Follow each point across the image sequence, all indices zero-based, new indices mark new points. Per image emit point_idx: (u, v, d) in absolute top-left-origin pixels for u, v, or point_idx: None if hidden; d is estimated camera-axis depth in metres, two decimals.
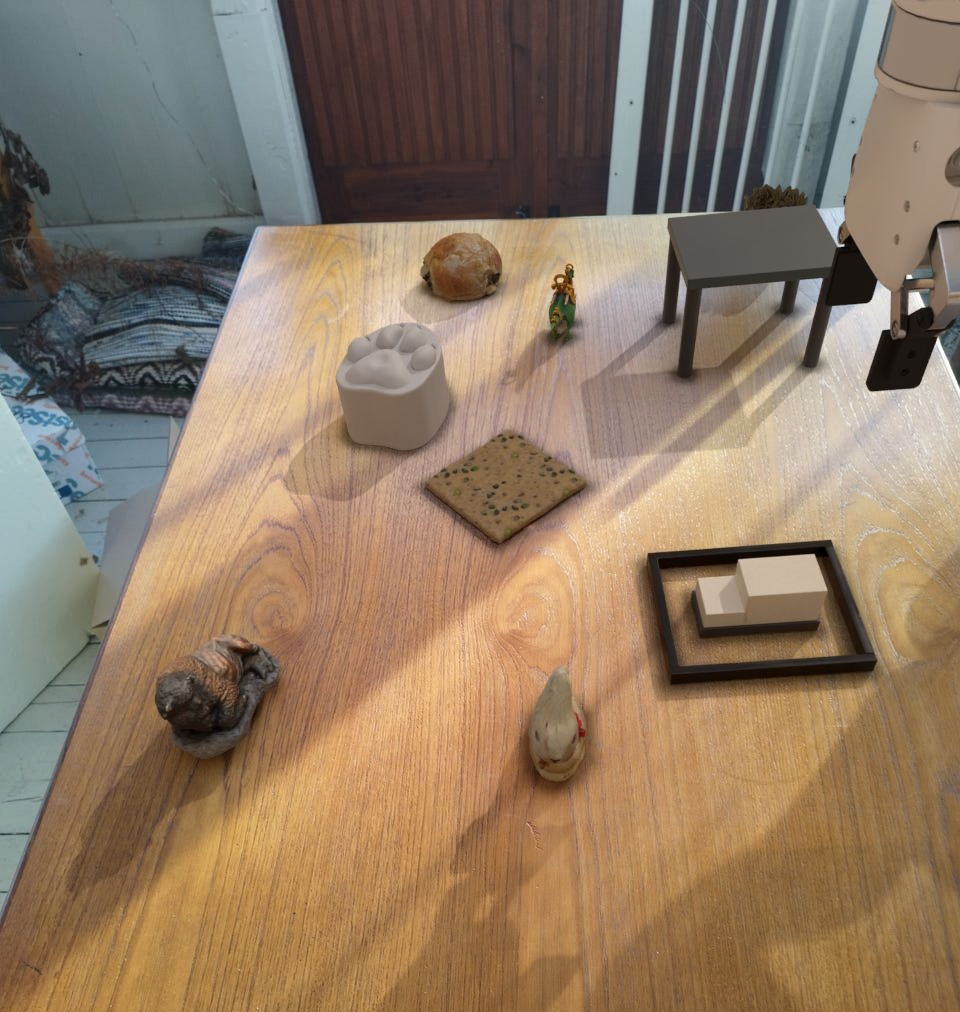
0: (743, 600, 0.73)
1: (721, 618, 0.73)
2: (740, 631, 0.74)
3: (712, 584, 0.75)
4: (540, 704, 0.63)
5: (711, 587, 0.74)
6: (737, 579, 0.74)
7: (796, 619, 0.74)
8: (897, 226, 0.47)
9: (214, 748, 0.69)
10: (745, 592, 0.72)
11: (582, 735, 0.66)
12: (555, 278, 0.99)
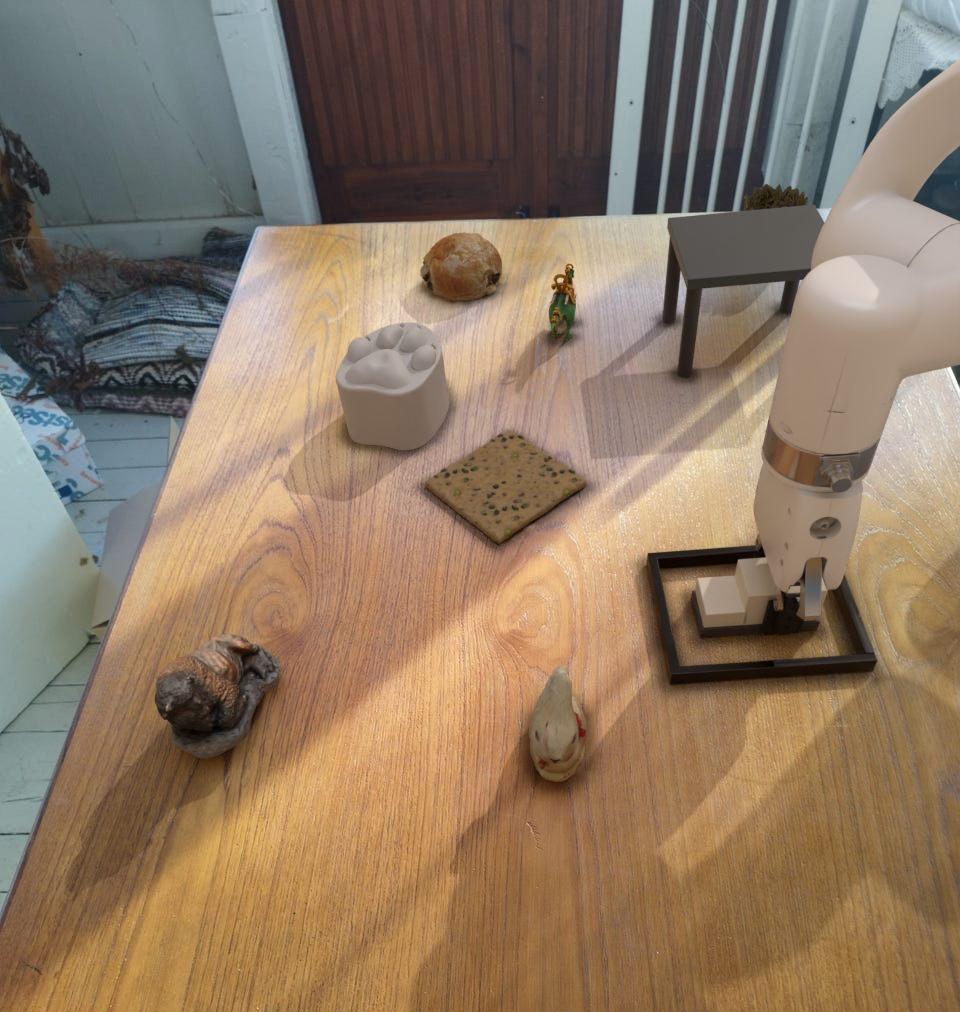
0: (743, 600, 0.73)
1: (721, 619, 0.73)
2: (740, 631, 0.74)
3: (712, 585, 0.75)
4: (540, 704, 0.63)
5: (711, 587, 0.74)
6: (737, 579, 0.74)
7: None
8: (781, 554, 0.65)
9: (214, 748, 0.69)
10: (745, 592, 0.72)
11: (582, 735, 0.66)
12: (555, 278, 0.99)
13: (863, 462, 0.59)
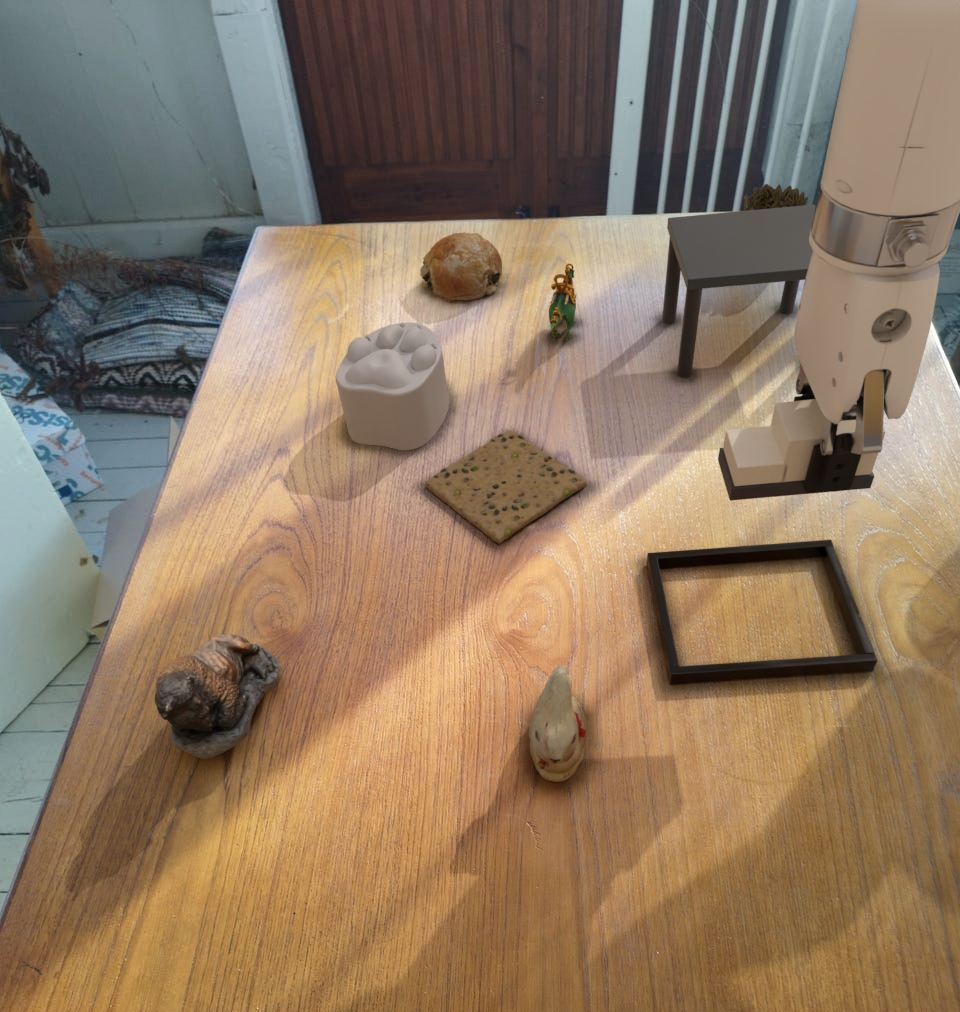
0: (782, 450, 0.61)
1: (755, 473, 0.61)
2: (778, 490, 0.62)
3: (744, 436, 0.63)
4: (540, 704, 0.63)
5: (742, 438, 0.62)
6: (774, 428, 0.62)
7: None
8: (834, 371, 0.53)
9: (214, 748, 0.69)
10: (785, 438, 0.60)
11: (582, 735, 0.66)
12: (555, 278, 0.99)
13: (942, 231, 0.47)
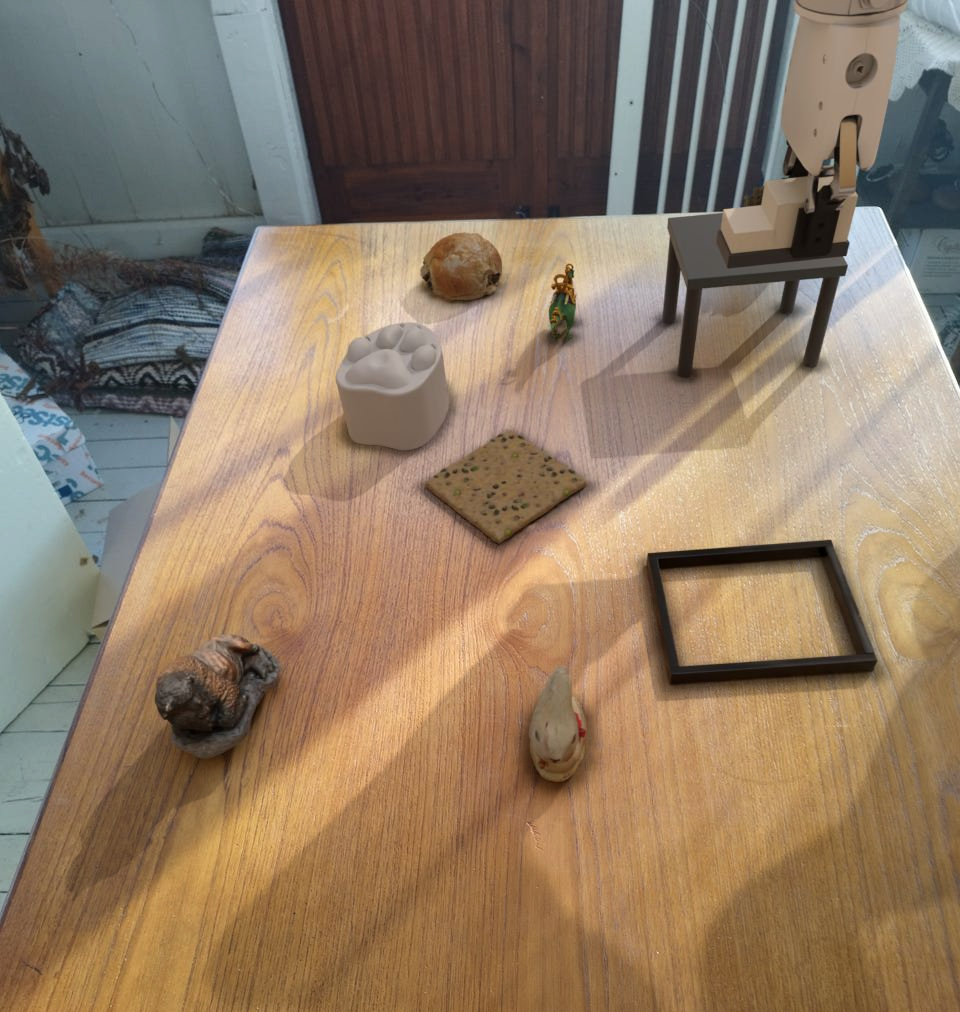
0: (771, 217, 0.71)
1: (749, 239, 0.72)
2: (768, 258, 0.73)
3: (738, 212, 0.73)
4: (540, 704, 0.63)
5: (737, 214, 0.73)
6: (764, 204, 0.73)
7: None
8: (815, 122, 0.63)
9: (214, 748, 0.69)
10: (774, 205, 0.71)
11: (582, 735, 0.66)
12: (555, 278, 0.99)
13: None
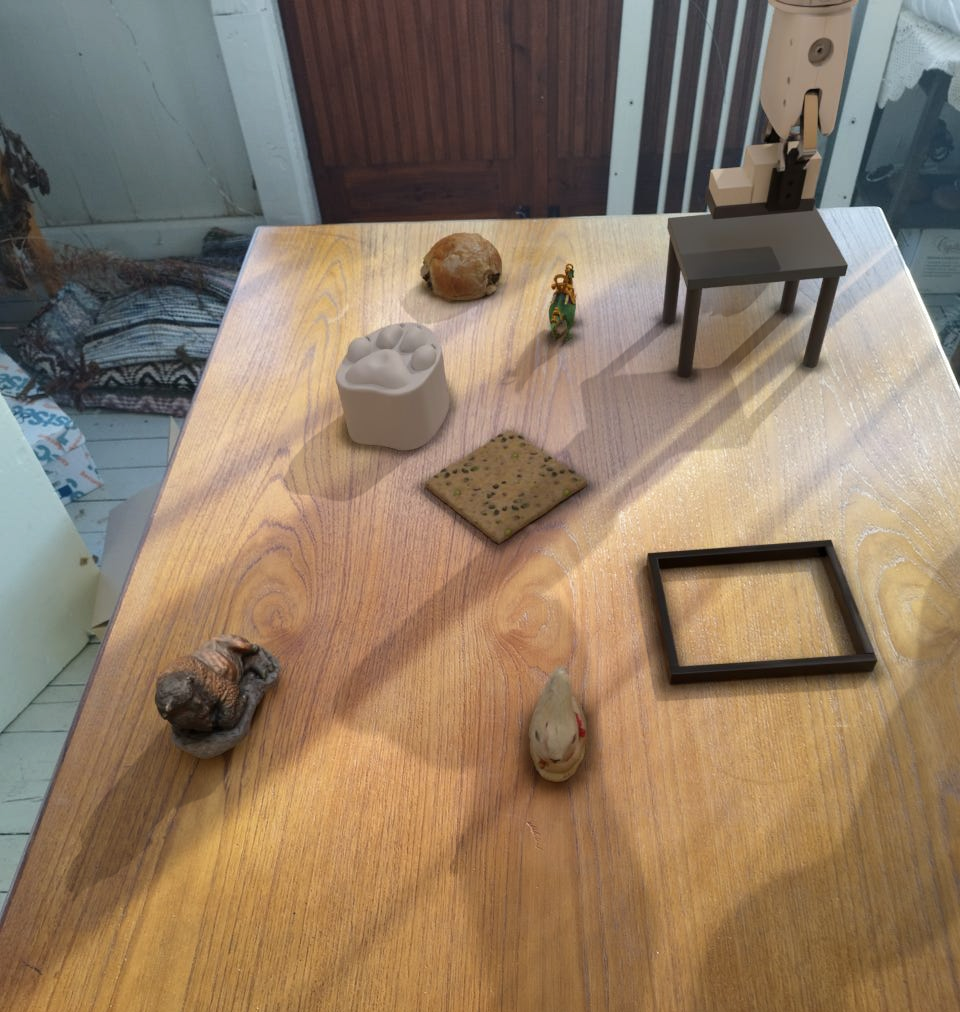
0: (750, 176, 0.85)
1: (731, 194, 0.86)
2: (747, 210, 0.87)
3: (723, 172, 0.87)
4: (540, 704, 0.63)
5: (722, 173, 0.87)
6: (745, 165, 0.87)
7: None
8: (784, 94, 0.77)
9: (214, 748, 0.69)
10: (752, 165, 0.85)
11: (582, 735, 0.66)
12: (555, 278, 0.99)
13: None
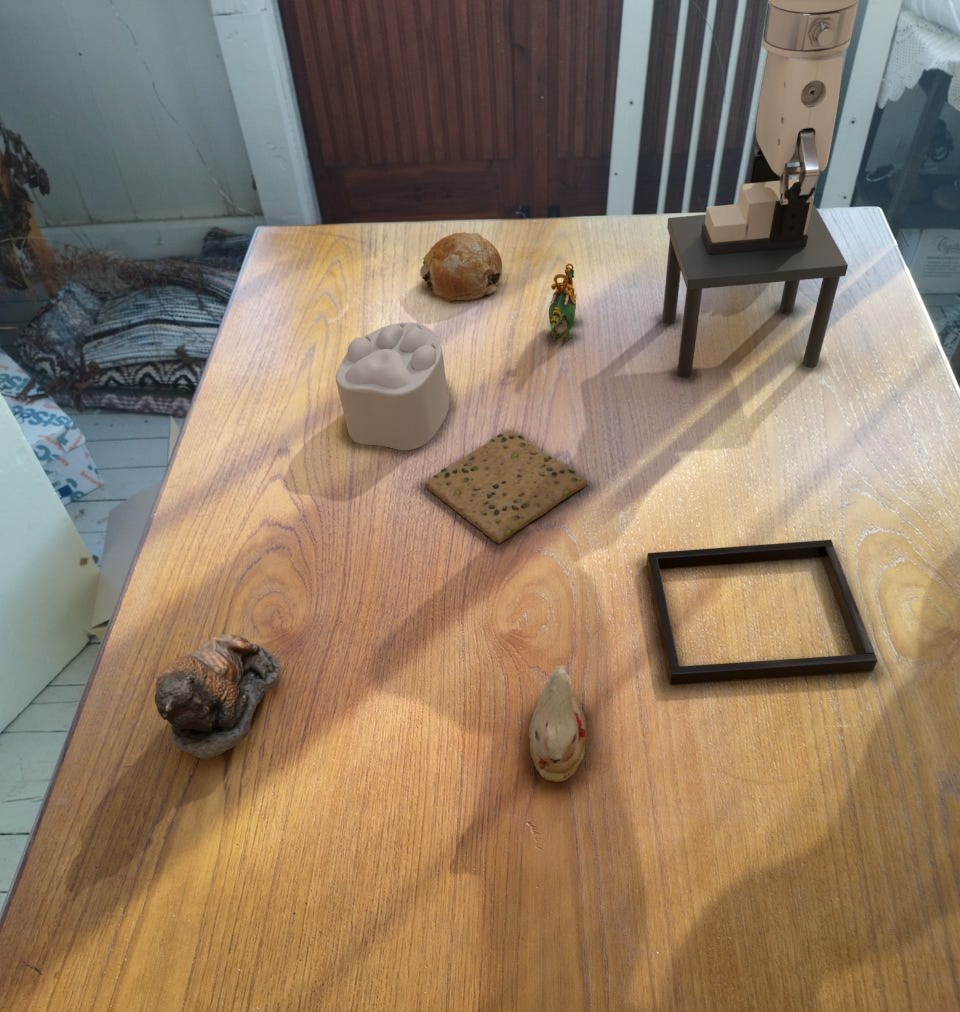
0: (745, 214, 0.88)
1: (726, 231, 0.89)
2: (742, 246, 0.90)
3: (719, 209, 0.90)
4: (540, 704, 0.63)
5: (718, 211, 0.90)
6: (740, 203, 0.90)
7: None
8: (778, 133, 0.80)
9: (214, 748, 0.69)
10: (746, 204, 0.88)
11: (582, 735, 0.66)
12: (555, 278, 0.99)
13: (843, 26, 0.74)
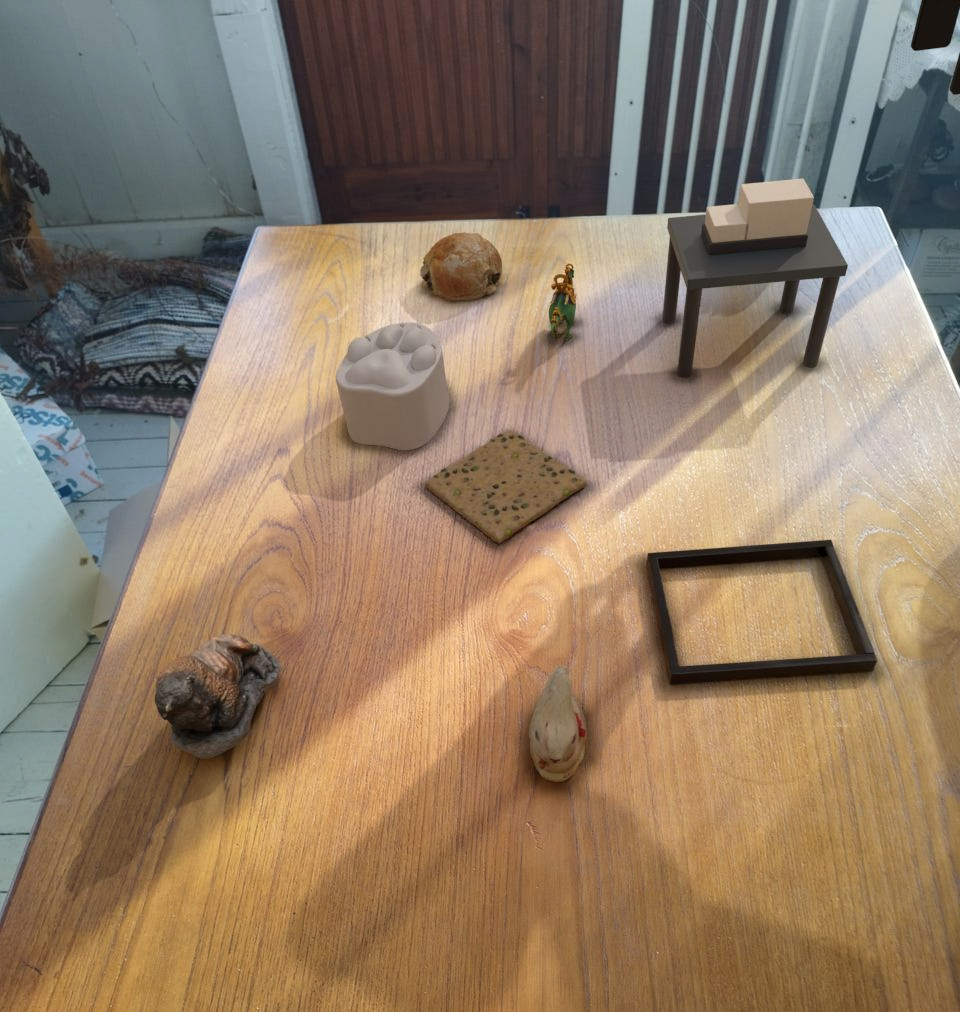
0: (745, 214, 0.88)
1: (726, 231, 0.89)
2: (742, 246, 0.90)
3: (719, 209, 0.90)
4: (540, 704, 0.63)
5: (718, 211, 0.90)
6: (740, 203, 0.90)
7: (788, 233, 0.89)
8: None
9: (214, 748, 0.69)
10: (746, 204, 0.88)
11: (582, 735, 0.66)
12: (555, 278, 0.99)
13: None
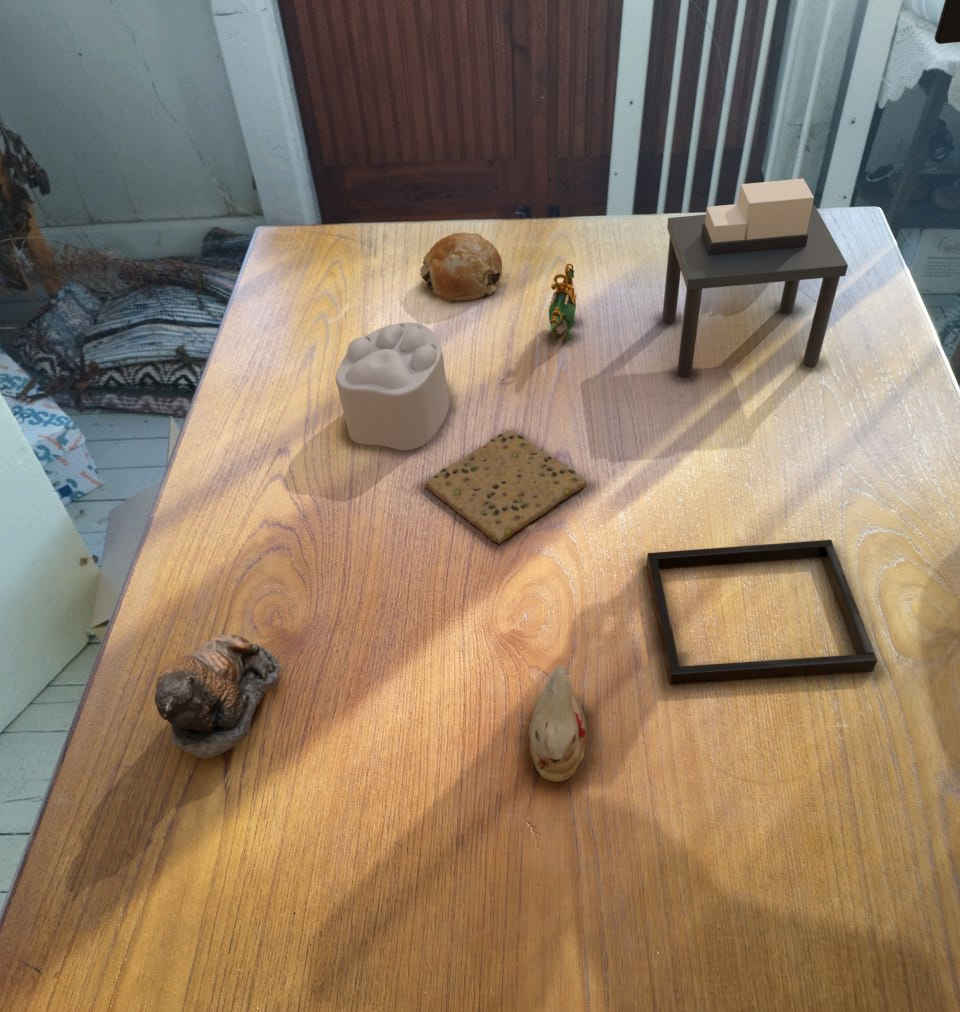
0: (745, 214, 0.88)
1: (726, 231, 0.89)
2: (742, 246, 0.90)
3: (719, 209, 0.90)
4: (540, 704, 0.63)
5: (718, 211, 0.90)
6: (740, 203, 0.90)
7: (788, 233, 0.89)
8: None
9: (214, 748, 0.69)
10: (746, 204, 0.88)
11: (582, 735, 0.66)
12: (555, 278, 0.99)
13: None
